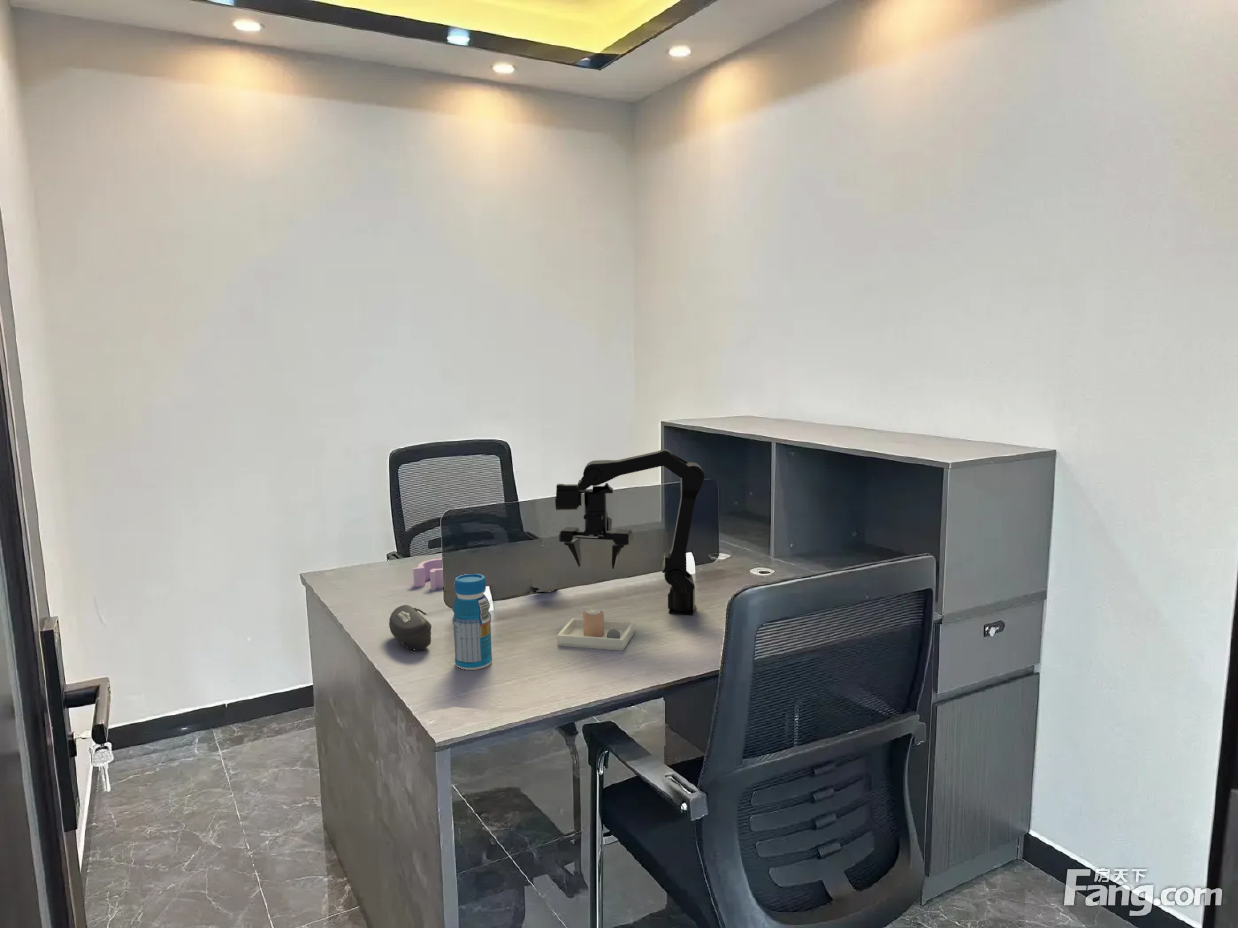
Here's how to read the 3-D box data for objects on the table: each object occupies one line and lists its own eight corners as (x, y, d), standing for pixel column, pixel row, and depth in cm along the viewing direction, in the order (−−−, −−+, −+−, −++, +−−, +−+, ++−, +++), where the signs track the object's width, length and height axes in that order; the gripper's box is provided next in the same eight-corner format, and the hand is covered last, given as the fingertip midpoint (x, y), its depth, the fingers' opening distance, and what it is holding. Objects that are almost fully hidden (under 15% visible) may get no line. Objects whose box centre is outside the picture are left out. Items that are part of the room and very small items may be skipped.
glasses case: (382, 635, 194) (380, 605, 193) (424, 627, 199) (422, 597, 198) (403, 660, 179) (401, 627, 177) (448, 650, 184) (446, 618, 183)
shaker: (606, 631, 192) (605, 607, 191) (601, 638, 188) (600, 614, 187) (586, 629, 194) (586, 606, 193) (581, 637, 189) (580, 613, 188)
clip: (453, 572, 247) (452, 551, 246) (484, 578, 241) (483, 556, 240) (407, 590, 230) (406, 567, 229) (439, 596, 224) (438, 573, 222)
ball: (621, 640, 186) (621, 627, 186) (618, 645, 183) (618, 632, 183) (608, 639, 187) (608, 626, 187) (605, 644, 184) (605, 631, 184)
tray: (634, 632, 193) (634, 622, 193) (623, 650, 182) (622, 640, 181) (572, 627, 197) (572, 617, 197) (557, 645, 186) (557, 635, 185)
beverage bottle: (459, 674, 170) (454, 585, 167) (451, 660, 178) (446, 574, 175) (497, 667, 174) (493, 580, 170) (487, 653, 181) (484, 570, 178)
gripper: (637, 504, 210) (637, 561, 212) (570, 502, 215) (571, 557, 217) (627, 513, 199) (628, 572, 202) (557, 510, 204) (559, 568, 206)
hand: (596, 567), depth 207 cm, fingers open, 9 cm apart
